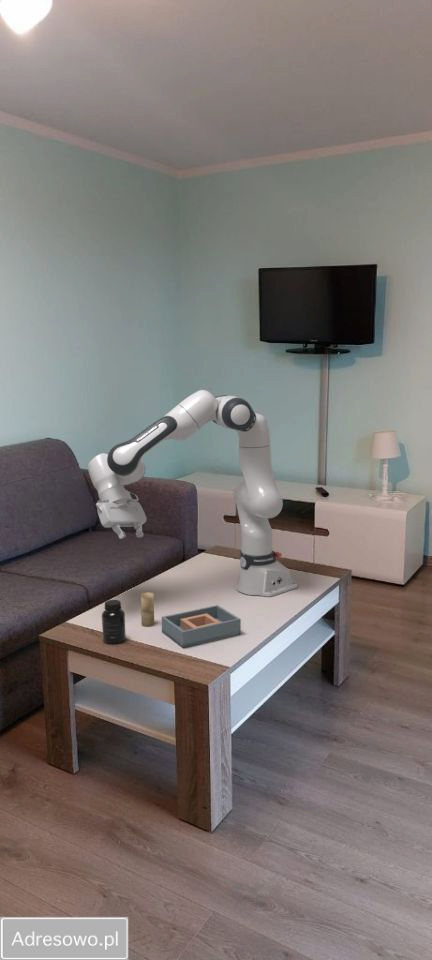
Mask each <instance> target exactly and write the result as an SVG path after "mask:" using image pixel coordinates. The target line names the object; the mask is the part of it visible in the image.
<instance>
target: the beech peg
mask: <svg viewBox="0 0 432 960" xmlns="http://www.w3.org/2000/svg"><path fill="white" fill-rule="evenodd" d="M154 596H155V595H154V593H153V592H150V591H149V592H148V591H147V592H141V594H140V608H141V609H140V613H141V614H140V615H141V618H140V619H141V626H142V627H147V628H149V627H152V626H154V625H155V604H154V603H155V601H154V599H155V598H154Z"/></svg>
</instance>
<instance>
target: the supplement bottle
mask: <svg viewBox="0 0 432 960" xmlns="http://www.w3.org/2000/svg"><path fill="white" fill-rule="evenodd" d="M101 622H102V623H101V624H102V625H101V626H102V627H101V628H102V629H101V630H102V641H103V642H104V643H106V644H108V645H117V644H121V643H123V642H124V641H126V615H125V611H124V610H123V609H122V602H121V600H118V599H109V600H107V601H105V602H104V611H102V614H101Z"/></svg>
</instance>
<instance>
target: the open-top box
mask: <svg viewBox="0 0 432 960" xmlns="http://www.w3.org/2000/svg"><path fill="white" fill-rule="evenodd" d="M241 621H242V620H241V618H240V617H238V616H236V615H235V614H233V613H231V612H230V611H228V610H226V609H225V608H223V607H221V606H220V605H219V604H216V605H212V606H205V607H202V608H201V607H200V608H198V609H192V610H188V611H184V612H183V611H182V612H179V613H173V614H169V615H164V616H161V633H162V634H163V635H165V636H166V637H168V638H169V639H170V640H171V641H173V642H174V643H176V644H177V645H178V646H179V647H180V648H181V649H185V648H191V647H194V646H198V645H203V644H206V643H210V642H215V641H219V640H222V639H226V638H227V639H228V638H232V637H235V636H240V635H241Z"/></svg>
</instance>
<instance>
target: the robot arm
mask: <svg viewBox="0 0 432 960" xmlns="http://www.w3.org/2000/svg"><path fill="white" fill-rule="evenodd" d="M209 422H213V423H214V424H216V425H218V426H221V427H222V428H226V429H231V430H235V431H236V433H237V437H238V457H239V468H240V471H241V473H242V475H243V479H244V480H243V481H242V480H241V481H239V483H237V484H236V485H235V487H234V488H233V492H232V496H233V500H234V503H235V505H236V509H237V510H236V511H237V514H238V515H237V516H238V518H239V520H238V521H239V523H240V530H241V531H240V533H241V535H240V537H241V539H240V540H241V548H240V549H241V550H240V551H239V553H240V554H239V563H240V564H239V565H240V572H239V579H238V584H237V587H236V590H237V591H238V592H239V593H241V594H245V595H249V596H263V597H267V598H268V597H269V598H270V597H271V598H272V597H275V596H278V595H280V594H283V593H286V592H289V591H292V590H295V589H298V583H297V582H296V581H295V580H293V579H292V574H291V571H290V570H289V568H287V567H286V566H284V565H283V564H282V563H281V562H279V561H278V560H277V559H281V558H282V553H281V552H279V551H274V550H273V529H272V527H271V524H270V521H269V519H273V518H276V517H277V516H278V515H279V514H280V513H281V511H282V509H283V505H284V503H283V502H284V501H283V497H282V495H281V494H280V493H279V490H278V487H277V484H276V479H275V475H274V472H273V465H272V451H271V448H272V447H271V437H270V430H269V424H268V421H267V418H266V417H265V416H264V415H263V414H260V413H257V412H255V411H254V409H253V407H252V405H250V403H249V402H248V401H247V400H246V399H244V398H242V397H238V396H235V395H224V394H223V395H217V396H215V395H213V394H212V393H211V392H210V391H209V390H205V389H199V390H197V391H195V392H194V393H192V394H191V395H189V396H188V397H186V398H185V399H183V400H182V401H180V402H179V403H178V404H177V405H175V406H174V407H173V408H172V409H171V410H169V411H168V413H166V414H164V416H162V417H160V418H159V419H157V420H156V421H154V422H153V423H151V424H150V425H148V426H147V427H146V428H145V429H143V430H142V431H141V432H139V433H138V434H136V435H135V436H133V437H132V438H131V439H129V440H126V441H124V442H121V443H117V444H115V445H114V446H113V447H111V449H110V450H109V452H108V453H104V452H102V453H99V454H96V455H95V456H93V457H91V459H90V460H89V462H88V464H87V471H88V475H89V477H90V480H91V482H92V485H93V487H94V489H96V491H97V493H98V495H97V496H98V498H99V499H98V500H97V501H96V503H95V506H96V509H97V510H96V511H97V514H98V517H99V521H100V524H101V525H102V527H104V528H108V529H109V528H111V529H112V531H113V532H115V534H117V536H118V538H119V539H121V540H122V539H125V538H126V537H127V535H126V533H125V531H123V530H122V529H121V528H123V527H124V528H125V527H127V528H128V527H129V528H130V527H133V528H134V529H135V530H136V531H135V535H136V538H142V537H144V532H143V525H144V524H145V523H146V522H147V516H146V513H145V511H144V509H143V507H142V505H141V503H140V502H138V501H139V497H138V495H136V494H134V493H132V492H131V491H128V490H127V489H126V488H125V486H127V485H131V484H134V483H136V482H139V481H141V480H142V479H143V477H144V475H145V473H146V465H145V463H144V461H143V459H142V458H143V457H144V455H145V454H147V453H149V452H150V451H151V450H152V449H153V448H155V447H156V446H157V445H159V444H160V443H161V442H163V441H166V440H175V441H185V440H187V439H189V438H190V437H192V436H194V435H195V434H196V433H197V432H198V431H200V429H201V428H203V427H204V426H205V425H206V424H208V423H209ZM276 558H277V559H276Z"/></svg>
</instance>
